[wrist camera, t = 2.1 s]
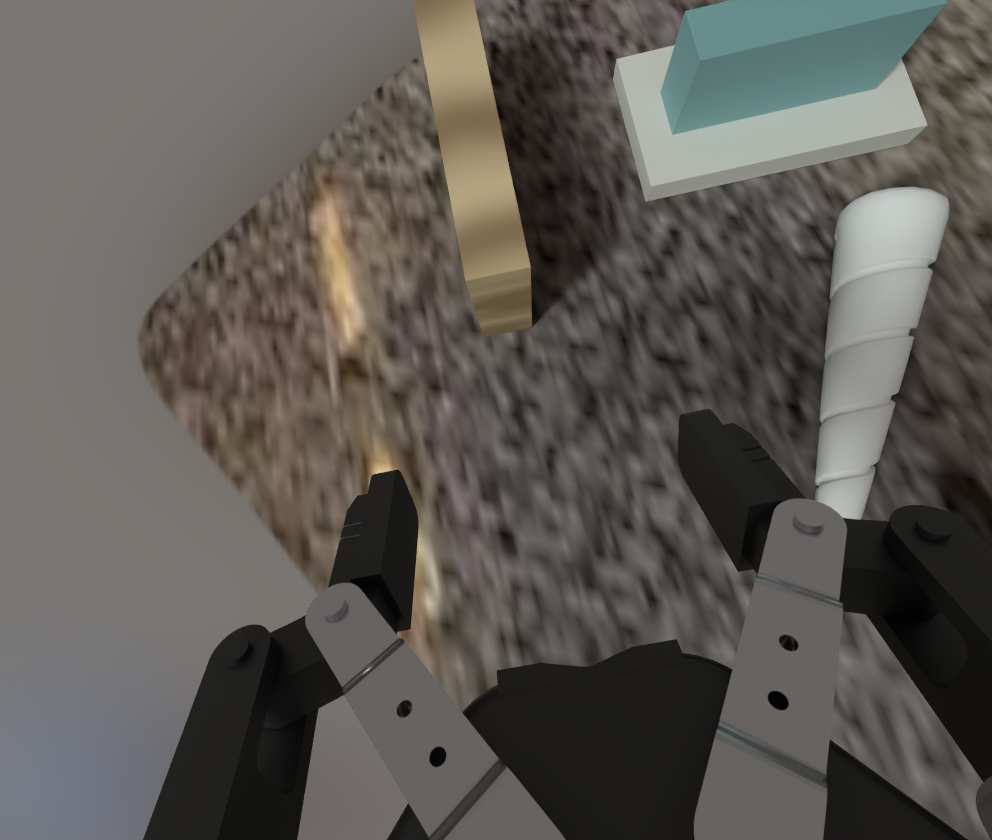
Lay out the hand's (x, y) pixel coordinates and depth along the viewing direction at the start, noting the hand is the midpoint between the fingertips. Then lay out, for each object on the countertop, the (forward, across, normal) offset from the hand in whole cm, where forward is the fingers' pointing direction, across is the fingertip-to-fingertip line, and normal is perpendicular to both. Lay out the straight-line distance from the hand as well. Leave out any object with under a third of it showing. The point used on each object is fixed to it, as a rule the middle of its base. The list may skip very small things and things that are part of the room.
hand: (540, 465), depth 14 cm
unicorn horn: (+11, -18, +10) cm, 23 cm away
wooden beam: (+22, 0, -2) cm, 22 cm away
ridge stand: (+24, -18, -4) cm, 31 cm away
